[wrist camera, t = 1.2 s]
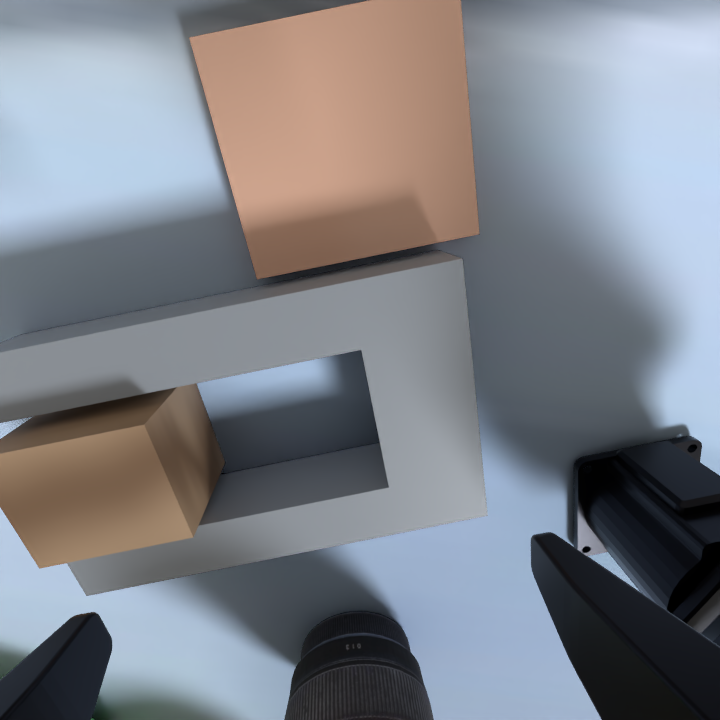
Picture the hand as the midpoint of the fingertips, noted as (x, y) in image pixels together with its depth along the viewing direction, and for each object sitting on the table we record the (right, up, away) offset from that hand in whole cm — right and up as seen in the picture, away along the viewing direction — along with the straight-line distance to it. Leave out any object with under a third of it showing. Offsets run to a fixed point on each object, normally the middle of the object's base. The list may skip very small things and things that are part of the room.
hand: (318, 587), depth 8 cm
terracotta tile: (0, +13, +7) cm, 15 cm away
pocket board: (-4, +2, +11) cm, 12 cm away
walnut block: (-9, +1, +11) cm, 14 cm away
